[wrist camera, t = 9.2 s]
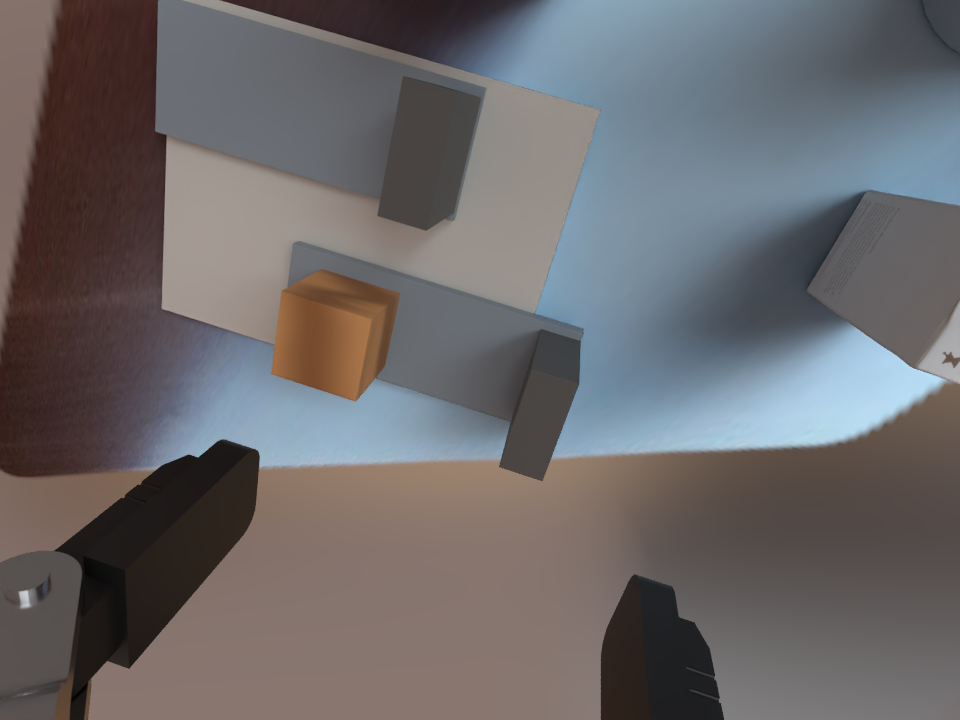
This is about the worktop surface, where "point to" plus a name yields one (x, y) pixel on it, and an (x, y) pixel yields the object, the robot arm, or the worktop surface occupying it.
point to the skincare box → (899, 279)
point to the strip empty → (316, 110)
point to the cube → (334, 333)
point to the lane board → (372, 208)
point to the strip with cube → (472, 354)
